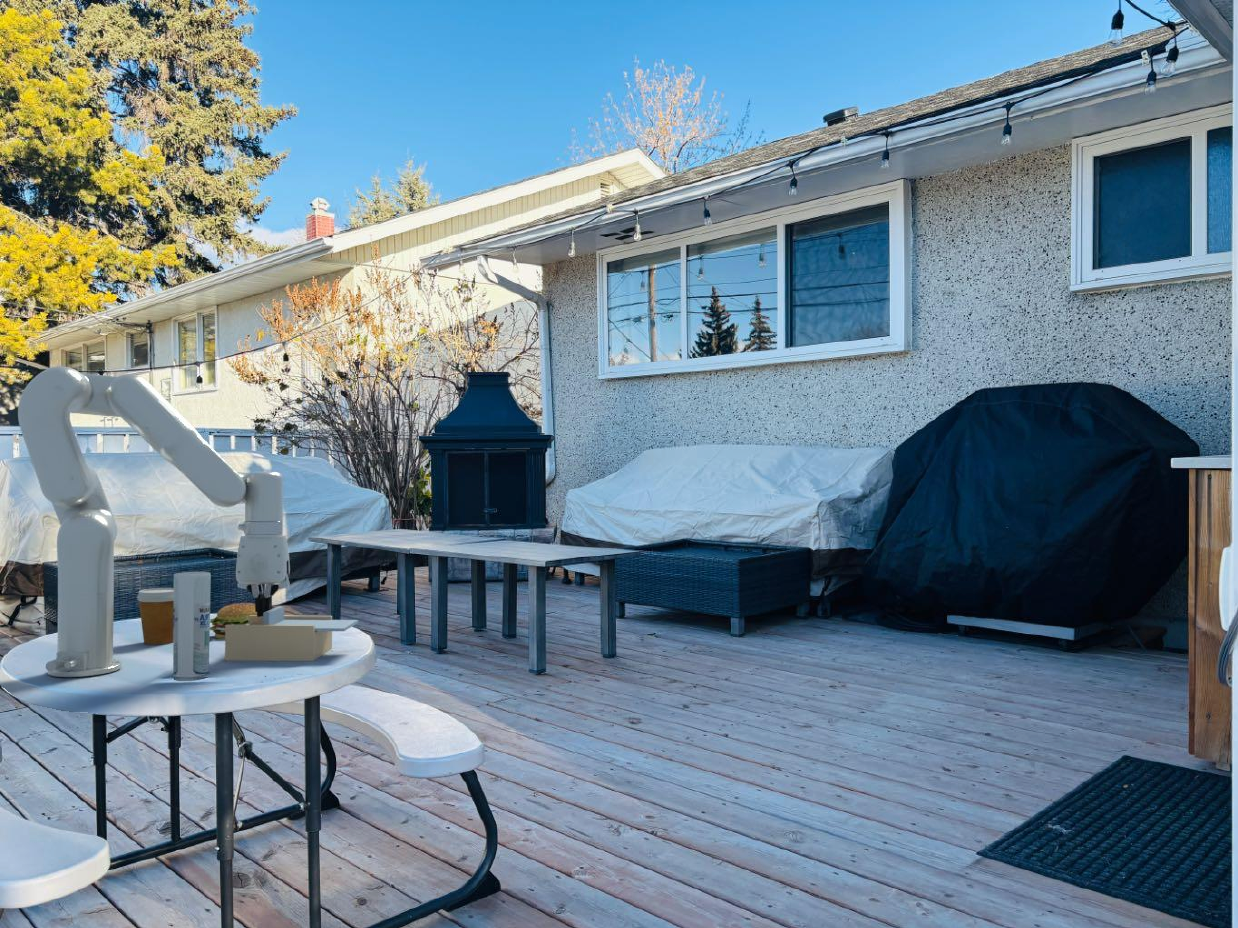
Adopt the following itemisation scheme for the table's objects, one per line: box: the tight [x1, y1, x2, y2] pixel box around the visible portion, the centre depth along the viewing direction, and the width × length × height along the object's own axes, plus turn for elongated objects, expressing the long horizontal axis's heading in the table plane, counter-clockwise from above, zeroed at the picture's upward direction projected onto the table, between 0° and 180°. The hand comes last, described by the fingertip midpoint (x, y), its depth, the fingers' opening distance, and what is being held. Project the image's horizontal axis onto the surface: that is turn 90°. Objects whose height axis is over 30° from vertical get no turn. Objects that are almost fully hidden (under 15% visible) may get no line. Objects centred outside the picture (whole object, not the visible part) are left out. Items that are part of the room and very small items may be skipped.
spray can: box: [172, 571, 212, 682], centre depth 176 cm, size 6×6×20 cm
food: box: [210, 602, 257, 640], centre depth 219 cm, size 14×14×8 cm
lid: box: [263, 605, 359, 632], centre depth 195 cm, size 11×18×4 cm, turn 91°
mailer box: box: [224, 614, 333, 662], centre depth 194 cm, size 13×18×8 cm
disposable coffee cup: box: [136, 587, 174, 646], centre depth 210 cm, size 10×10×12 cm
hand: (263, 615), depth 195 cm, fingers closed
